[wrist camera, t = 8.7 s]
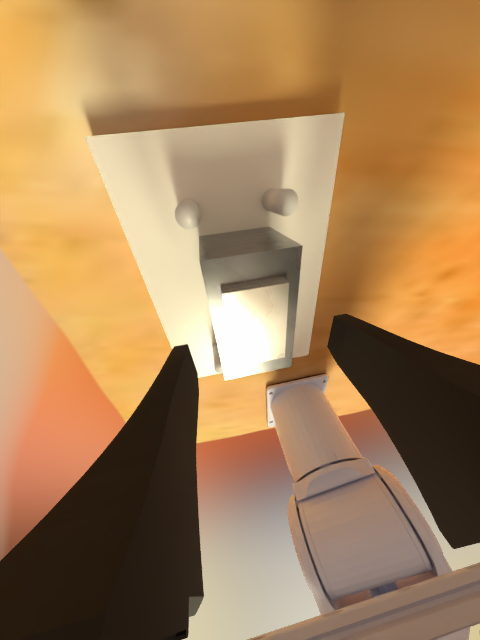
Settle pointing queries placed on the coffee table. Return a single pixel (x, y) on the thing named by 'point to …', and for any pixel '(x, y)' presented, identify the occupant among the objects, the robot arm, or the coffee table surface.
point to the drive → (252, 297)
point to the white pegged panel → (220, 208)
